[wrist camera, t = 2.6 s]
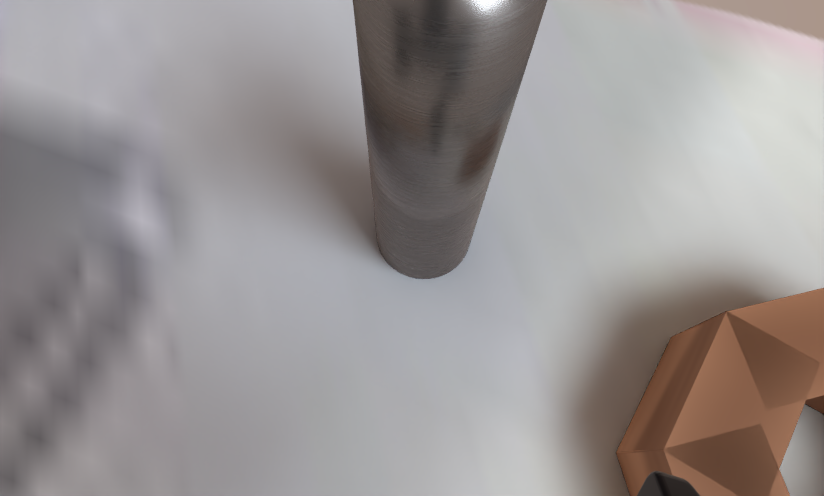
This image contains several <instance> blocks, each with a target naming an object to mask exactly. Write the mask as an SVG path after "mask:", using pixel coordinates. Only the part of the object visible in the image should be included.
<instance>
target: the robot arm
mask: <svg viewBox="0 0 824 496" xmlns="http://www.w3.org/2000/svg"><path fill="white" fill-rule="evenodd" d="M637 496H700V495H699V493H698V492H697V491H696V490H695V488H694V487H693V486H692V485H691V484H690V483H689V482H688V481H687V480H685V479H683V478H680V477H677V476H674V475H670V474H667V473H664V472H661V471H654V472H651V473H650V474H649V475H648V476H647V478H646V479H645V481H644V483H643V485H642V487H641V489H640V490H639V492H638V494H637Z"/></svg>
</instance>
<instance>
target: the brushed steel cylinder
mask: <svg viewBox="0 0 824 496" xmlns="http://www.w3.org/2000/svg"><path fill="white" fill-rule="evenodd" d="M546 2H547V0H353V7H354V16H355V26H356V36H357V46H358V56H359V66H360V76H361V85H362V95H363V105H364V115H365V125H366V135H367V145H368V155H369V164H370V174H371V184H372V194H373V204H374V214H375V224H376V233H377V241H378V246H379V249H380V251H381V253H382V255H383V257H384V258H385V260H386V261H387V262H388V263H389V265H391V266H392V267H393V268H394V269H395V270H397V271H398V272H400V273H402V274H404V275H406V276H409V277H413V278H418V279H430V278H436V277H439V276H442V275H444V274H447V273H448V272H450V271H452V270H453V269H454V268H456V267H457V266H458V265H459V264H460V263H461V261H462V260H463V258H464V257H465V255H466V253H467V251H468V248H469V245H470V242H471V239H472V236H473V233H474V229H475V226H476V223H477V220H478V217H479V214H480V210H481V207H482V204H483V201H484V198H485V195H486V192H487V188H488V185H489V182H490V179H491V176H492V173H493V169H494V166H495V163H496V160H497V157H498V154H499V151H500V147H501V144H502V141H503V138H504V135H505V132H506V129H507V125H508V122H509V119H510V116H511V113H512V110H513V106H514V103H515V100H516V97H517V94H518V91H519V88H520V84H521V81H522V78H523V75H524V72H525V69H526V65H527V62H528V59H529V56H530V53H531V50H532V47H533V43H534V40H535V37H536V34H537V31H538V28H539V25H540V21H541V18H542V15H543V12H544V9H545V6H546Z"/></svg>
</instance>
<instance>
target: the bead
mask: <svg viewBox="0 0 824 496" xmlns="http://www.w3.org/2000/svg"><path fill="white" fill-rule="evenodd" d="M804 404H807V405H808V406H810V407H812V408H814V409H815V410H817V411H819V412H821V413H822V414H824V288H822V289H817V290H813V291H809V292H805V293H801V294H797V295H793V296H789V297H784V298H780V299H776V300H772V301H768V302H764V303H760V304H756V305H751V306H747V307H743V308H739V309H735V310H731V311H726V312H723V313H721V314H719V315H717V316H715V317H713V318H711V319H709V320H706V321H704V322H702V323H700V324H698V325H696V326H694V327H692V328H689V329H687V330H685V331H683V332H681V333H679V334H677V335H675V336H672V337H671V339H670V341H669V343H668V345H667V347H666V349H665V351H664V353H663V355H662V358H661V360H660V362H659V364H658V366H657V368H656V370H655V372H654V374H653V376H652V378H651V381H650V383H649V385H648V387H647V389H646V391H645V393H644V395H643V397H642V399H641V401H640V404H639V406H638V408H637V410H636V412H635V414H634V416H633V418H632V420H631V422H630V424H629V427H628V429H627V431H626V433H625V435H624V437H623V439H622V441H621V443H620V445H619V447H618V450H617V452H616V454H617V457H618V460H619V463H620V466H621V469H622V472H623V475H624V478H625V481H626V484H627V487H628V490H629V493H630V496H637V494H638V492H639V490H640V489H641V487H642V485H643V483H644V481H645V479H646V478H647V476H648V475H649V474H650V473H651V472H654V471H661V472H664V473H667V474H670V475H674V476H677V477H680V478H683V479H685V480H687V481H688V482H689V483H690V484H691V485H692V486H693V487H694V488H695V490H696V491H697V492H698V493H699V495H700V496H790V495H789V492H788V490H787V487H786V485H785V482H784V480H783V477H782V475H781V472H780V470H779V468H780V465H781V463H782V460H783V457H784V455H785V452H786V450H787V447H788V445H789V442H790V440H791V437H792V434H793V432H794V429H795V427H796V424H797V422H798V419H799V417H800V414H801V412H802V409H803V406H804Z"/></svg>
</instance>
